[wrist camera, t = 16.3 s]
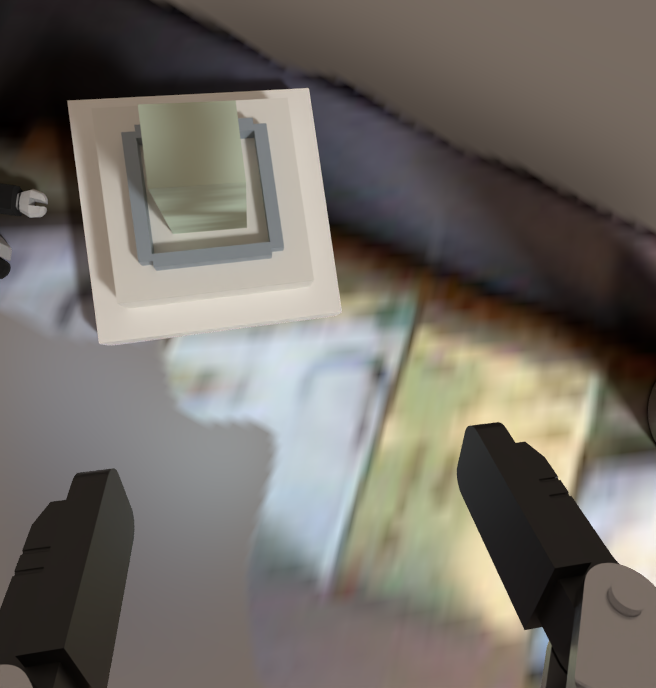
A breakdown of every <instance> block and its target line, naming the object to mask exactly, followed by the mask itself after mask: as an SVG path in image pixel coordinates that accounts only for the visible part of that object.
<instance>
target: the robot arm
mask: <svg viewBox="0 0 656 688" xmlns="http://www.w3.org/2000/svg"><path fill="white" fill-rule="evenodd" d="M648 419H649V425H650V429H651V433H652V436H653V438H654V440H655V442H656V383H655V385H654V386H653V388H652V392H651V395H650V398H649V405H648ZM457 480H458V485H459V489H460V492H461V494H462V497H463V499H464V501H465V503H466V505H467V507H468V509H469V512H470V514H471V516H472V518H473V520H474V522H475V524H476V527H477V529H478V531H479V533H480V535H481V537H482V540H483V542H484V544H485V546H486V548H487V550H488V552H489V555H490V557H491V559H492V561H493V563H494V565H495V567H496V570H497V572H498V574H499V576H500V578H501V580H502V582H503V585H504V587H505V589H506V591H507V593H508V595H509V598H510V600H511V602H512V604H513V606H514V608H515V610H516V613H517V615H518V617H519V619H520V621H521V623H522V625H523V628H524V630H528V629H533V628H539V627H543V629H544V631H545V633H546V635H547V637H548V639H549V642H548V645H547V650H546V656H545V663H544V670H543V676H542V683H541V688H656V587H655V586H654V585H653V584H652V583H651V582H650V581H649V580H648V579H646V578H645V577H644V576H642V575H641V574H640V573H638V572H636V571H635V570H633V569H631V568H628V567H626V566H623V565H620V564H619V563H618V562H617V561H616V560H615V559H614V557H613V556H612V555H611V553H610V552H609V550H608V549H607V547H606V546H605V545H604V543H603V542H602V540H601V539H600V537H599V536H598V534H597V533H596V531H595V530H594V529H593V527H592V526H591V524H590V523H589V521H588V520H587V518H586V517H585V515H584V514H583V512H582V511H581V510H580V508H579V507H578V505H577V504H576V502H575V501H574V499H573V498H572V496H569V494H568V491H567V489H566V488H565V486H564V485H563V483H562V482H561V480H558V476H557V474H556V473H555V472H554V470H553V469H552V467H551V466H550V464H549V463H548V461H547V460H546V458H545V457H544V456H543V455H541V454H540V453H539V452H537V451H536V450H535V449H534V448H532V447H531V446H530V445H529V444H527V443H526V442H519V443H515V442H514V440H513V438H512V437H511V435H510V434H509V432H508V431H507V429H506V428H505V426H504V425H503V424H501V423H499V422H497V423H488V424H480V425H472V426H468V427H467V428H466V431H465V435H464V439H463V444H462V448H461V453H460V457H459V461H458V466H457ZM133 539H134V517H133V511H132V508H131V506H130V503H129V500H128V498H127V495H126V493H125V490H124V487H123V485H122V482H121V480H120V477H119V474H118V472H117V470H116V469H106V470H97V471H89V472H81V473H77V474H76V475H75V476H74V478H73V481H72V484H71V487H70V490H69V493H68V496H67V499H66V500H62V501H54V502H50V503H49V505H48V506H47V507H46V508H45V510H44V511H43V512H42V513H41V514H40V516H39V517H38V518H37V519H36V521H35V522H34V523H33V524H32V526H31V529H30V532H29V534H28V537H27V539H26V542H25V545H24V548H23V554H22V555H21V556H20V558H19V561H18V563H17V566H16V569H15V576H13V577H12V579H11V582H10V584H9V587H8V590H7V592H6V595H5V598H4V601H3V603H2V606H1V608H0V688H107V684H108V679H109V672H110V668H111V662H112V656H113V651H114V645H115V639H116V634H117V629H118V623H119V617H120V612H121V606H122V601H123V595H124V589H125V584H126V578H127V572H128V567H129V562H130V556H131V550H132V545H133Z"/></svg>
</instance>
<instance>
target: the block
mask: <svg viewBox="0 0 656 688" xmlns="http://www.w3.org/2000/svg"><path fill="white" fill-rule="evenodd" d="M138 111H139V119H140V127H141V135H142V144H143V152H144V160H145V168H146V177H147V185H148V190H149V192H150V193H151V195H152V197H153V199H154V201H155V202H156V204H157V206H158V208H159V210H160V211H161V213H162V215H163V217H164V219H165V220H166V222H167V224H168V226H169V228H170V229H171V231H172V233H173V234H180V233H192V232H204V231H215V230H227V229H239V228H247V205H246V178H245V170H244V162H243V154H242V146H241V139H240V131H239V123H238V115H237V108H236V100H233V101H209V102H185V103H161V104H138Z"/></svg>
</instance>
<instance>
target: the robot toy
mask: <svg viewBox="0 0 656 688" xmlns="http://www.w3.org/2000/svg"><path fill="white" fill-rule="evenodd" d="M35 202H40V203H45V204H47V203H48V199H47V197H46V195H45V194H44V193H43V192H40V191H37V190H34V189H32V190H28V191H24V192H23V191H22V190H21V188H20V187H18V186H13V185H7V184H1V183H0V213H1V214H8V215H15V216H21V215H22V213H23V214H25V215H27V216H28V217H42V216H43V215H44V214H45V213H46V212H47V208H45V207H39V206H34V204H35ZM11 250H12V249H11V247H10V246H9V245H8V244H7V243H6V242H5V240H4V239H3V238H2V237H1V236H0V257H2V258H4V259H6V260H9V261H11ZM2 258H0V279H3V278H4V277H6V276H7V275H8V274H9V272H10V268H11V266H10V264H9V263H8V262H7V261H5V260H4V259H2Z"/></svg>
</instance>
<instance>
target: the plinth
mask: <svg viewBox="0 0 656 688" xmlns="http://www.w3.org/2000/svg"><path fill="white" fill-rule="evenodd" d="M233 100H236V108H237V115H238V123H239V131H240V139H241V146H242V154H243V162H244V170H245V178H246V205H247V228H239V229H227V230H215V231H204V232H192V233H180V234H173V233H172V231H171V229H170V228H169V226H168V224H167V222H166V220H165V219H164V217H163V215H162V213H161V211H160V210H159V208H158V206H157V204H156V202H155V201H154V199H153V197H152V195H151V193H150V192H149V190H148V185H147V177H146V168H145V160H144V152H143V144H142V135H141V127H140V119H139V111H138V104H161V103H185V102H209V101H233ZM67 102H68V110H69V117H70V125H71V133H72V140H73V148H74V156H75V163H76V171H77V179H78V186H79V194H80V202H81V209H82V217H83V225H84V232H85V240H86V248H87V255H88V263H89V270H90V278H91V286H92V293H93V301H94V309H95V316H96V324H97V332H98V339H99V344H104V345H110V346H111V345H119V344H126V343H134V342H142V341H149V340H157V339H164V338H172V337H180V336H187V335H195V334H202V333H210V332H218V331H225V330H233V329H240V328H248V327H256V326H263V325H271V324H279V323H286V322H294V321H301V320H309V319H317V318H324V317H332V316H336V315H338V314H339V313H341V312H342V310H341V303H340V296H339V289H338V282H337V276H336V269H335V262H334V255H333V249H332V242H331V235H330V228H329V222H328V215H327V208H326V201H325V194H324V188H323V181H322V174H321V167H320V161H319V154H318V147H317V140H316V134H315V127H314V120H313V113H312V106H311V100H310V93H309V88H303V89H284V90H264V91H245V92H226V93H206V94H187V95H167V96H148V97H129V98H109V99H90V100H71V101H67Z"/></svg>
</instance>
